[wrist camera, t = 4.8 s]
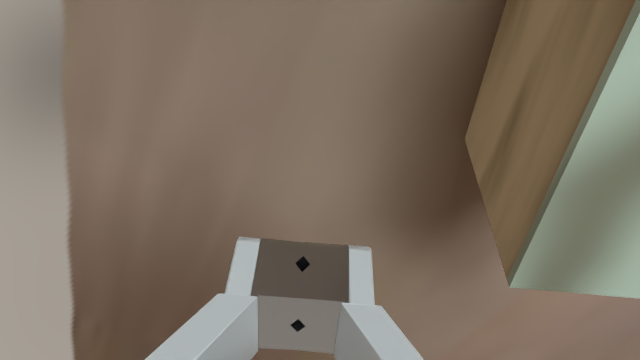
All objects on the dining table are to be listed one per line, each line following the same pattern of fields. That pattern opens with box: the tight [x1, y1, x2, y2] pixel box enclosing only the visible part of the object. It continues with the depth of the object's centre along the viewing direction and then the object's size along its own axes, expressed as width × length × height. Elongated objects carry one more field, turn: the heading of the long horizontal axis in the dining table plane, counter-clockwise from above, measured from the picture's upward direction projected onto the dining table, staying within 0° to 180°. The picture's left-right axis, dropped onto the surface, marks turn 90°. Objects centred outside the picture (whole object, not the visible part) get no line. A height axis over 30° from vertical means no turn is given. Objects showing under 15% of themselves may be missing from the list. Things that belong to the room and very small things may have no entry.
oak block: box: [465, 0, 640, 298], centre depth 19 cm, size 5×12×10 cm, turn 176°
